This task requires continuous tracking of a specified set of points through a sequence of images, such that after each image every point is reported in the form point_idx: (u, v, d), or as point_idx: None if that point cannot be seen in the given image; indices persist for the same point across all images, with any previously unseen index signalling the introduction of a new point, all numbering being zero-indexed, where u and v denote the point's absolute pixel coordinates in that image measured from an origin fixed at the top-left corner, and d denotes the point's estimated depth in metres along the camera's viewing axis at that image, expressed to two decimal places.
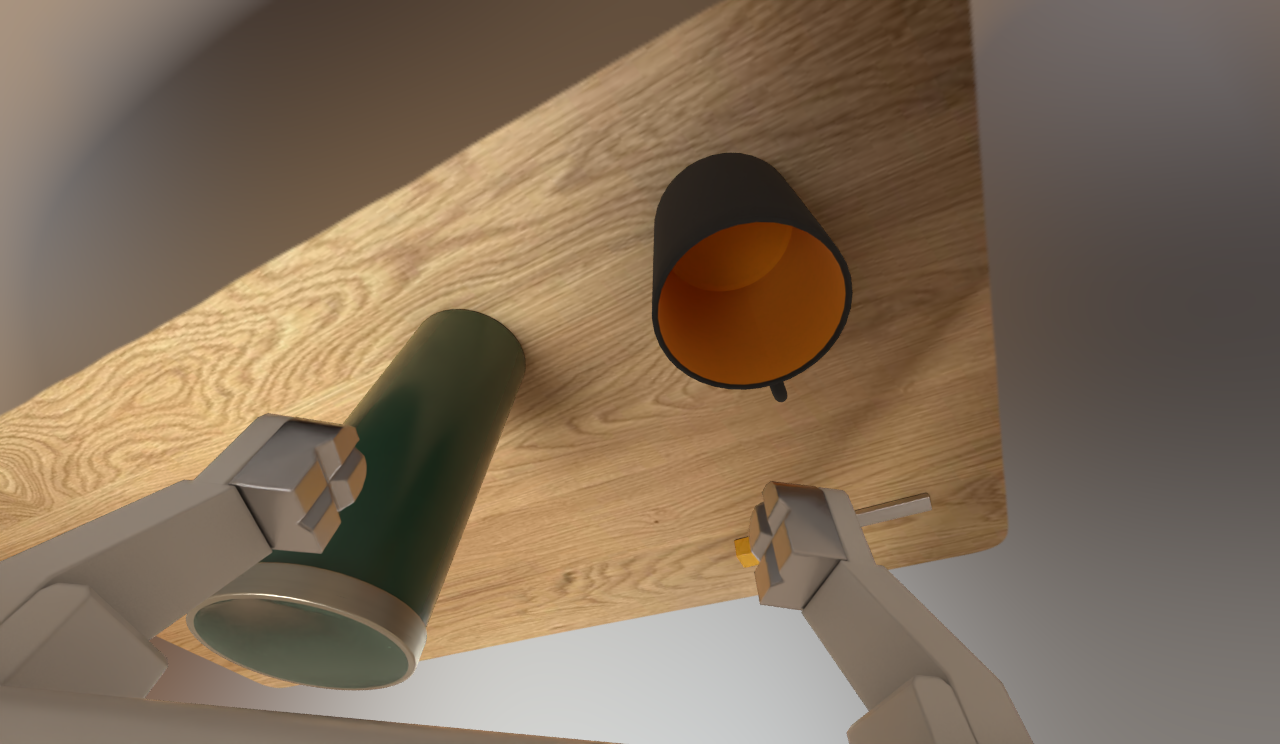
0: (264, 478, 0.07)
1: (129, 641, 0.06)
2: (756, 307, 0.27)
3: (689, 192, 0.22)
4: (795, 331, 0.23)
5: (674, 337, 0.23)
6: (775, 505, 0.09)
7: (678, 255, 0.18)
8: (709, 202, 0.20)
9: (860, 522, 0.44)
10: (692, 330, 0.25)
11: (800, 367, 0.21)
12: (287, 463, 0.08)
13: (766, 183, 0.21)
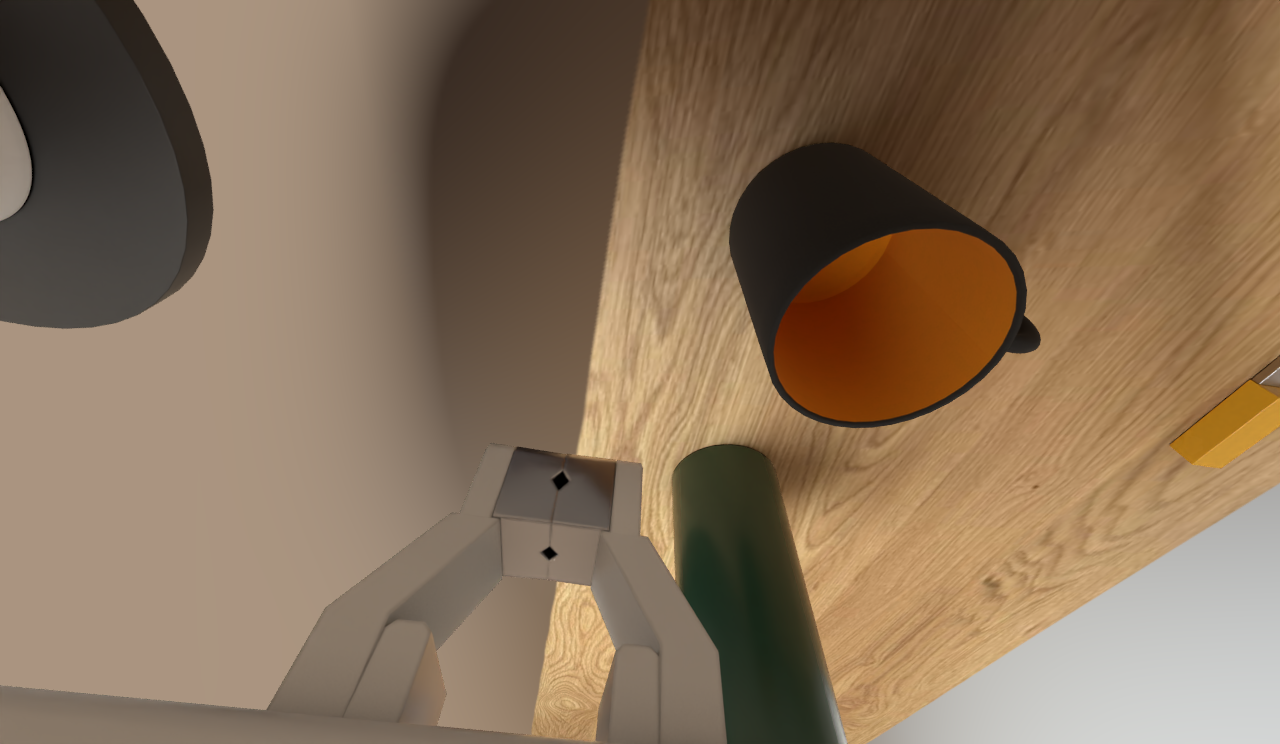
0: (519, 510, 0.08)
1: (437, 672, 0.06)
2: (912, 270, 0.21)
3: (742, 268, 0.20)
4: (971, 281, 0.17)
5: (847, 393, 0.20)
6: (561, 477, 0.08)
7: (769, 363, 0.17)
8: (758, 282, 0.18)
9: None
10: (863, 358, 0.21)
11: (1010, 327, 0.16)
12: (534, 494, 0.08)
13: (794, 204, 0.18)
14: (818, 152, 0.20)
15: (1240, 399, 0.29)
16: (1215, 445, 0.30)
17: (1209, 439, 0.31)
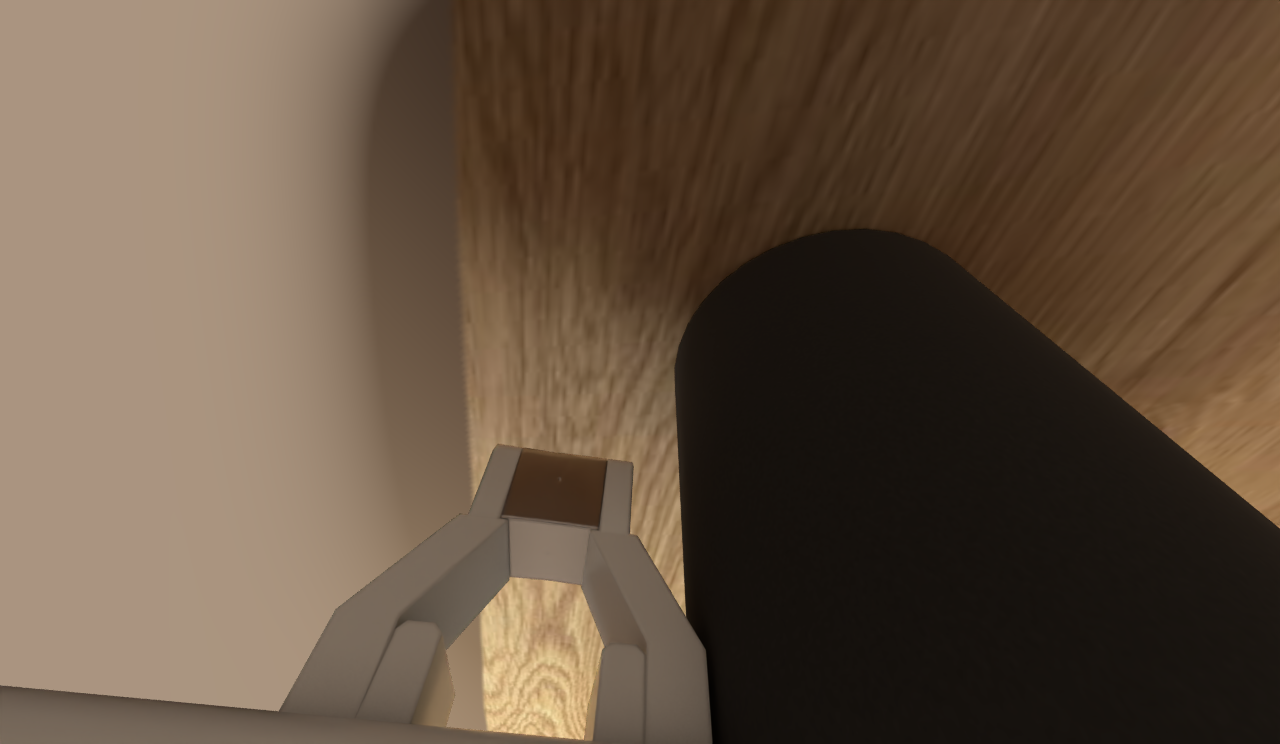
0: (527, 511, 0.08)
1: (447, 673, 0.06)
2: None
3: None
4: None
5: None
6: None
7: None
8: (695, 626, 0.07)
9: None
10: None
11: None
12: (542, 495, 0.08)
13: (786, 428, 0.07)
14: (838, 258, 0.10)
15: None
16: None
17: None
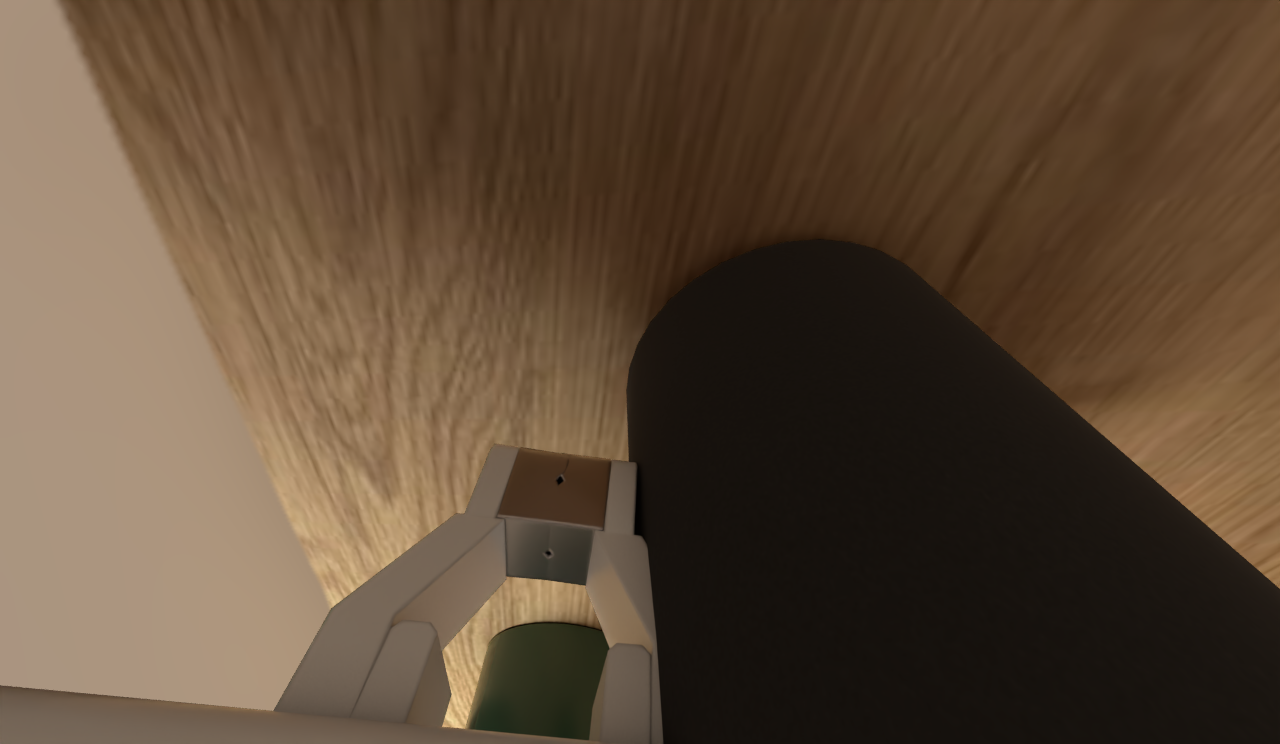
0: (524, 510, 0.08)
1: (442, 673, 0.06)
2: None
3: None
4: None
5: None
6: None
7: None
8: None
9: None
10: None
11: None
12: (538, 495, 0.08)
13: (737, 480, 0.06)
14: (792, 274, 0.09)
15: None
16: None
17: None
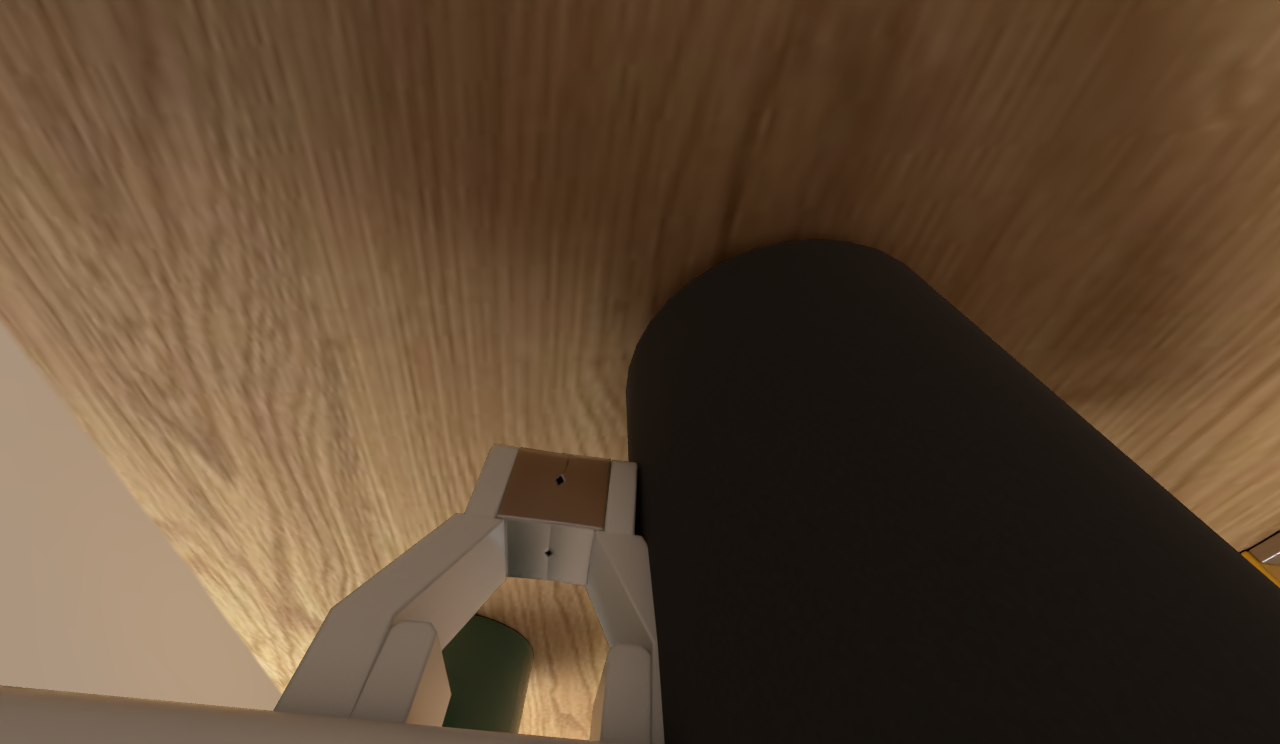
0: (523, 510, 0.08)
1: (442, 672, 0.06)
2: None
3: None
4: None
5: None
6: None
7: None
8: None
9: None
10: None
11: None
12: (538, 495, 0.08)
13: (737, 480, 0.06)
14: (792, 274, 0.09)
15: None
16: None
17: None
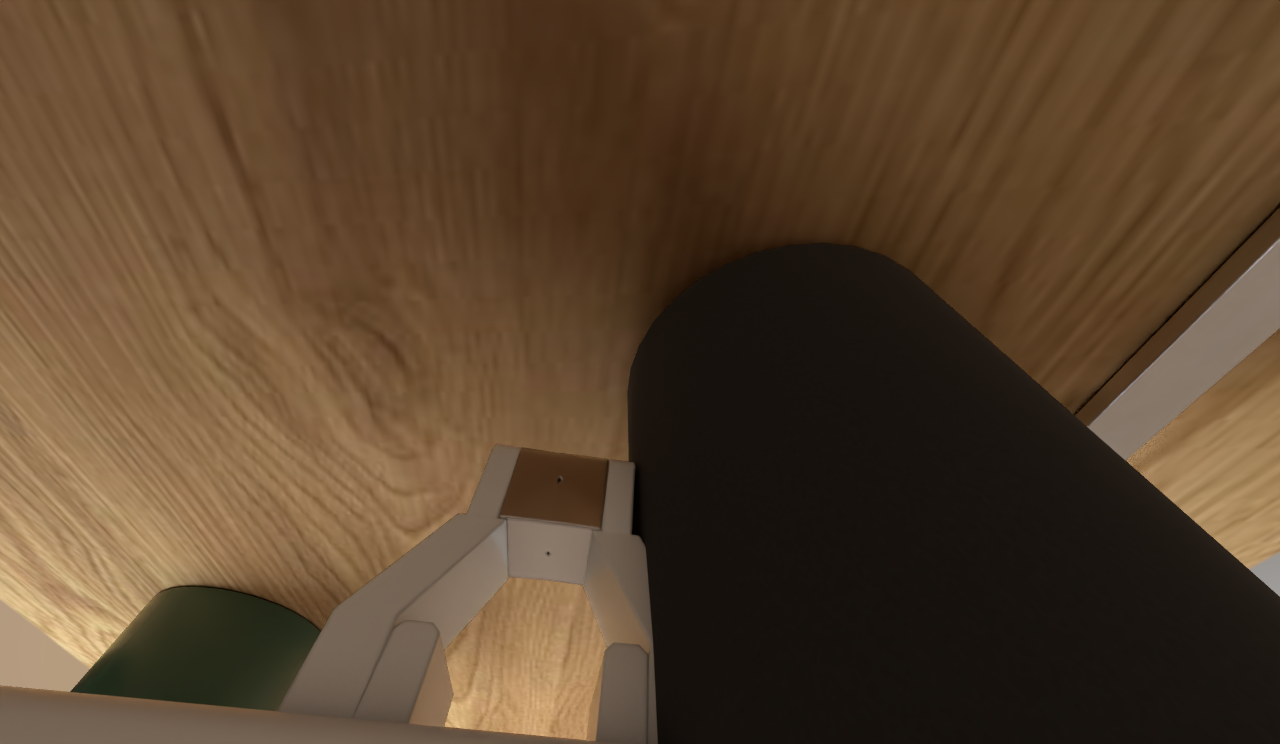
0: (526, 511, 0.08)
1: (445, 673, 0.06)
2: None
3: None
4: None
5: None
6: None
7: None
8: None
9: (1153, 411, 0.12)
10: None
11: None
12: (540, 495, 0.08)
13: (736, 481, 0.06)
14: (794, 277, 0.09)
15: None
16: None
17: None
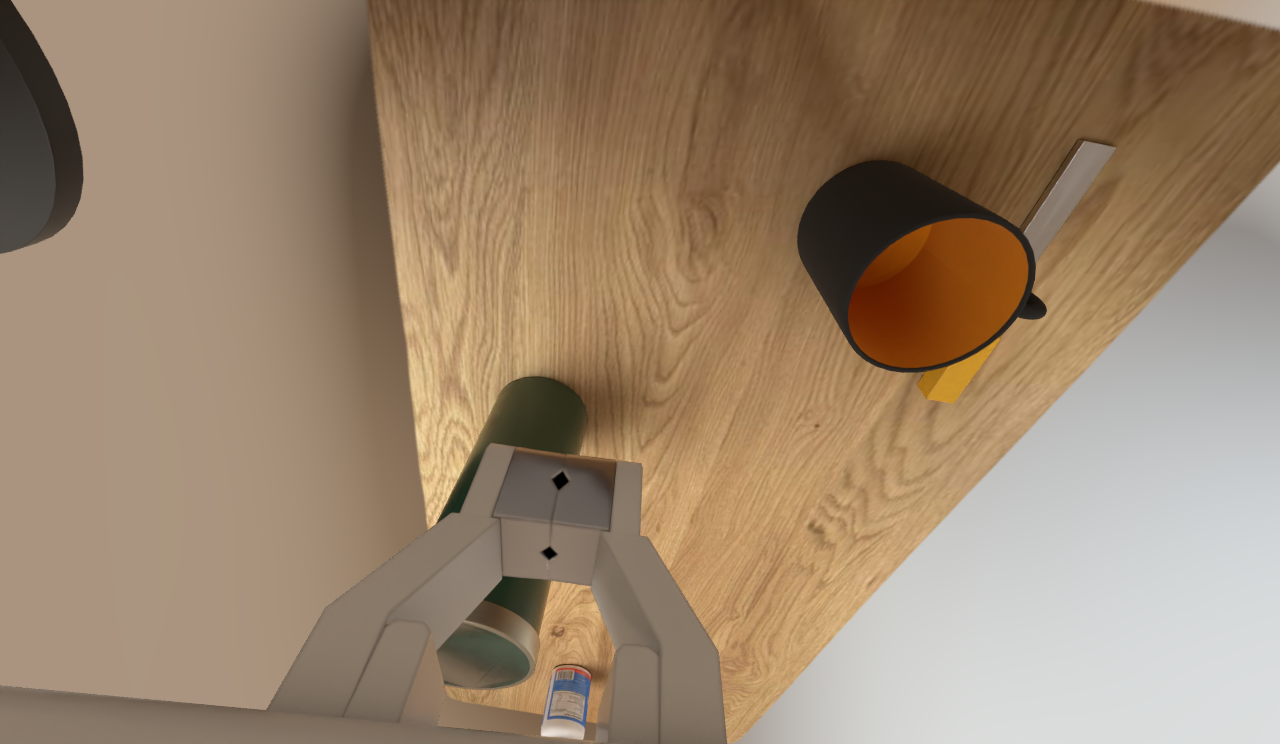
0: (519, 510, 0.08)
1: (437, 672, 0.06)
2: (946, 259, 0.27)
3: (816, 253, 0.27)
4: (995, 263, 0.23)
5: (896, 349, 0.26)
6: (562, 477, 0.08)
7: (845, 317, 0.23)
8: (834, 260, 0.24)
9: (1033, 248, 0.30)
10: (907, 326, 0.27)
11: (1024, 294, 0.22)
12: (534, 494, 0.08)
13: (862, 203, 0.24)
14: (876, 167, 0.27)
15: None
16: (939, 379, 0.35)
17: (936, 375, 0.35)
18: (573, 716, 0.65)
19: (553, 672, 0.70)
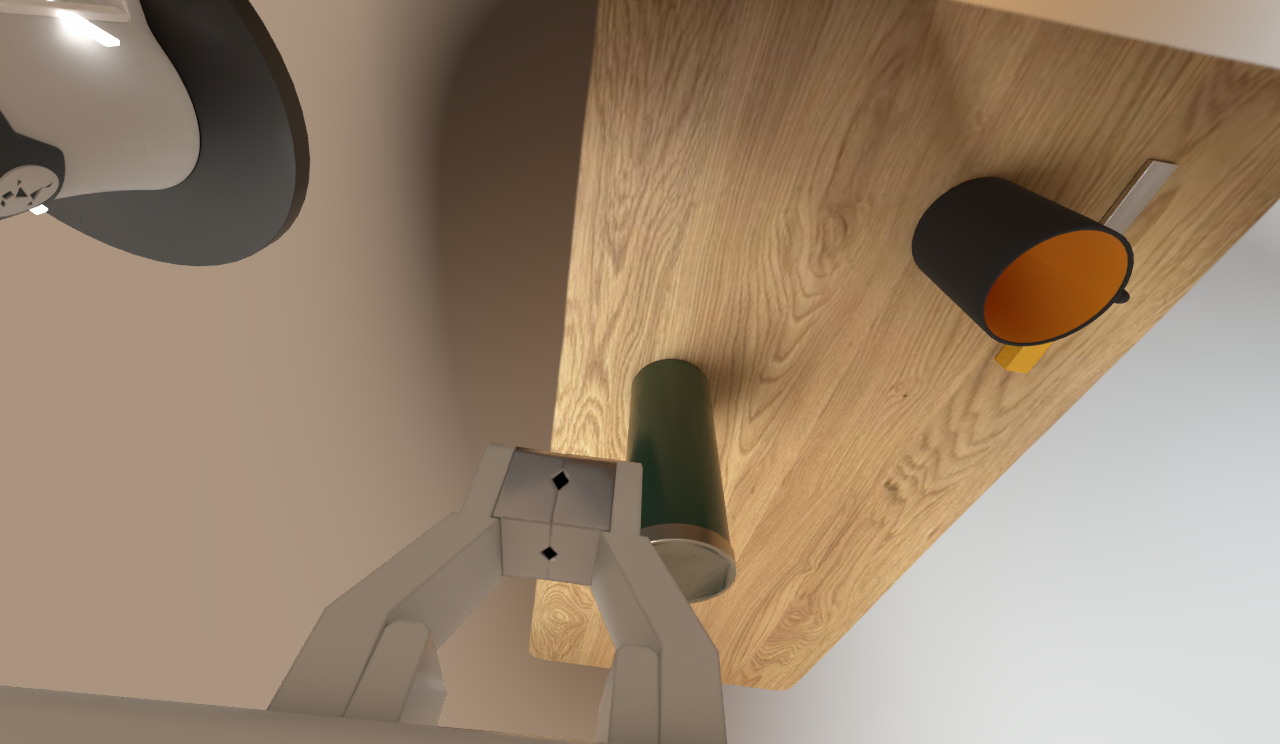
0: (519, 510, 0.08)
1: (437, 672, 0.06)
2: (1042, 256, 0.35)
3: (942, 254, 0.34)
4: (1093, 261, 0.30)
5: (1008, 329, 0.33)
6: (562, 477, 0.08)
7: (982, 304, 0.30)
8: (968, 260, 0.31)
9: None
10: (1012, 310, 0.34)
11: (1121, 284, 0.29)
12: (534, 494, 0.08)
13: (989, 215, 0.31)
14: (989, 184, 0.34)
15: None
16: (1017, 353, 0.42)
17: (1014, 350, 0.42)
18: None
19: None
